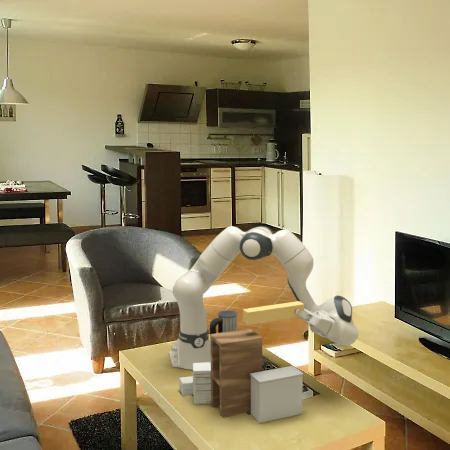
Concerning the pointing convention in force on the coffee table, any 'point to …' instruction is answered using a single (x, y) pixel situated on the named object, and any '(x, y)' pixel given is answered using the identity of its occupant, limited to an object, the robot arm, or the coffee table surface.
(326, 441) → the coffee table surface
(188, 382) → the small box
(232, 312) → the milk frother
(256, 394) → the grey box
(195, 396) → the white drawer cabinet
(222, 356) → the walnut shelf
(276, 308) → the ochre box
